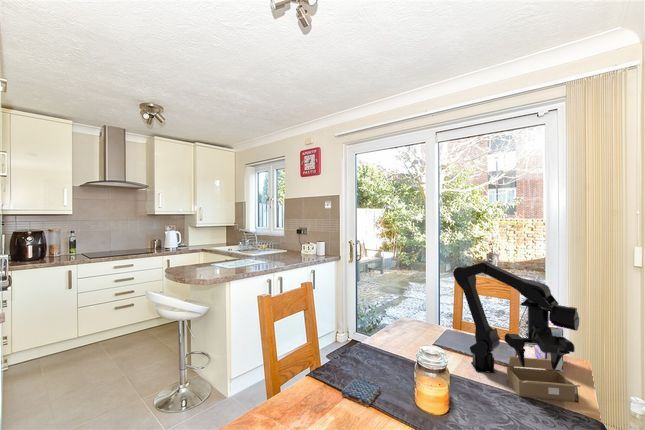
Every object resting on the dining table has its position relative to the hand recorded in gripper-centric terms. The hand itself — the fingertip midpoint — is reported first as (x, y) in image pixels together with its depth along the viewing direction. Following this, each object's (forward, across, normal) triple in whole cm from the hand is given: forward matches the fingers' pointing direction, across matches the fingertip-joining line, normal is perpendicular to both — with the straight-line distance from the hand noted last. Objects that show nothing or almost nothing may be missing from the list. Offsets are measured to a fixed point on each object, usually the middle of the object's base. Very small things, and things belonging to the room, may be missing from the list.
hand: (538, 367), depth 100 cm
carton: (+8, 0, 0) cm, 8 cm away
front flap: (+1, 0, -7) cm, 7 cm away
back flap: (0, 0, +4) cm, 4 cm away
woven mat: (+8, -58, -12) cm, 60 cm away
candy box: (+8, +14, +21) cm, 26 cm away
